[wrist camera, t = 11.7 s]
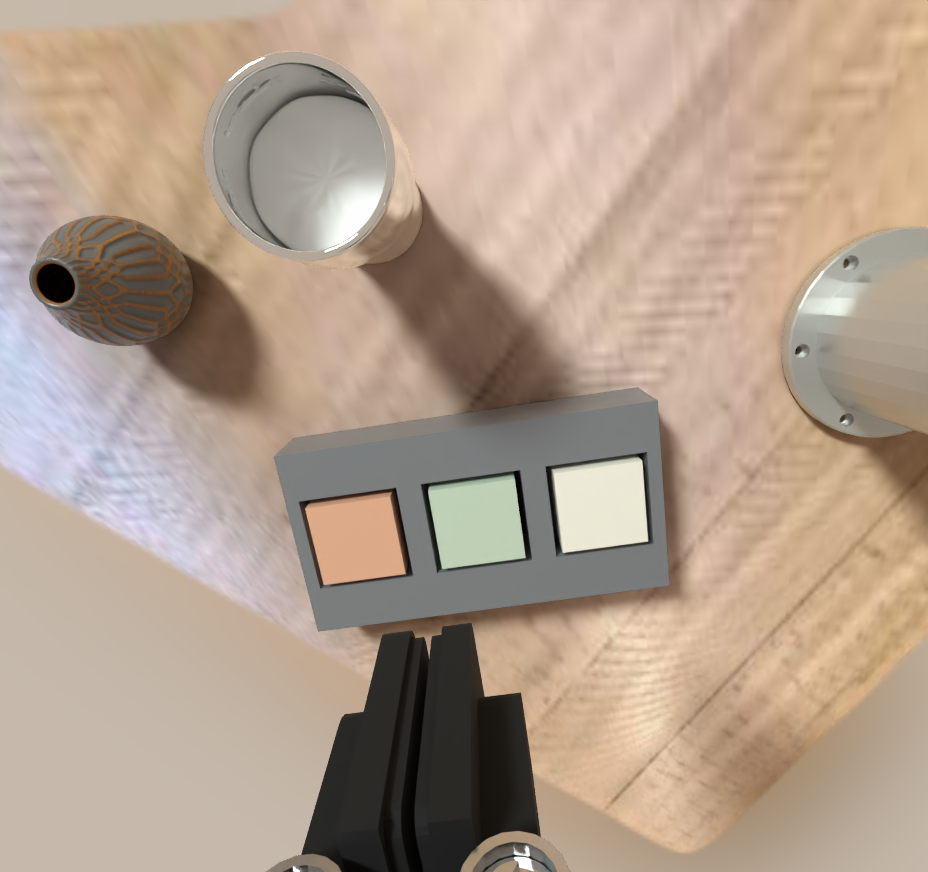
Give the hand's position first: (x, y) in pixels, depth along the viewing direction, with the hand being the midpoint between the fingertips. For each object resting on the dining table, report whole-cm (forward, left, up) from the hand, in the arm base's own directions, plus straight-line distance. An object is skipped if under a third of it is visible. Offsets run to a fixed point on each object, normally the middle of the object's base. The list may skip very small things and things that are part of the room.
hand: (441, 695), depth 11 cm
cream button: (-8, +7, -27) cm, 29 cm away
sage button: (0, +7, -27) cm, 28 cm away
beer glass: (+3, -12, -27) cm, 30 cm away
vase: (+17, -10, -27) cm, 34 cm away
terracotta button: (+7, +7, -27) cm, 29 cm away
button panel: (0, +7, -27) cm, 28 cm away
